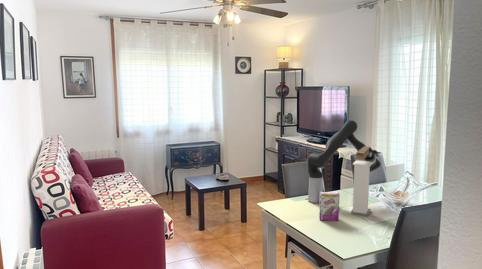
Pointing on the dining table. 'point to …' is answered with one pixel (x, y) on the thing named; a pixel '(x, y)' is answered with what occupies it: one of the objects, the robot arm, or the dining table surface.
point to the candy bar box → (329, 206)
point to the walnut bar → (363, 153)
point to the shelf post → (361, 188)
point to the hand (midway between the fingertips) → (365, 148)
